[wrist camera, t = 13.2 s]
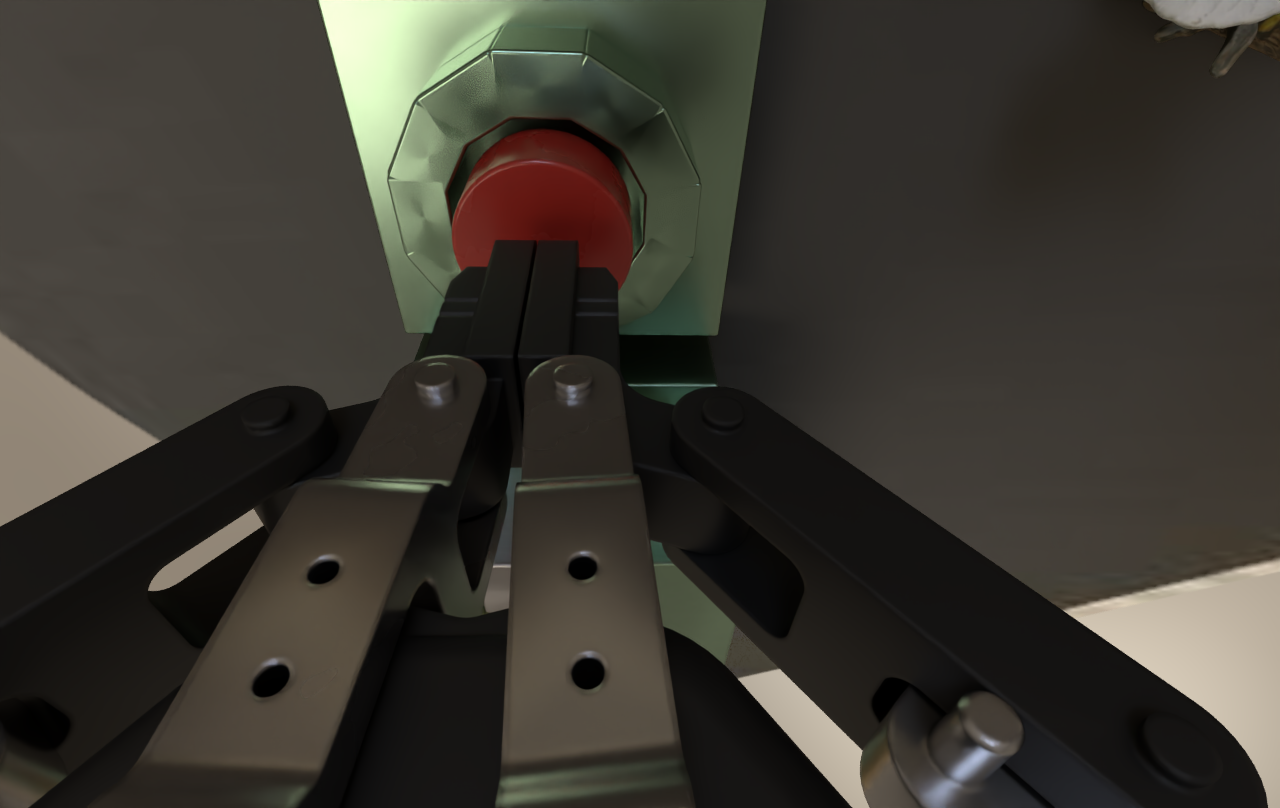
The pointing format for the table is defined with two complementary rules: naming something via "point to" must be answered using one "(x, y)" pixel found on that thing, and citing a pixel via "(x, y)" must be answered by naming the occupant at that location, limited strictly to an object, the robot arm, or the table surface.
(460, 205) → the button
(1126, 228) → the table surface
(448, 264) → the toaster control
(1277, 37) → the eagle figurine
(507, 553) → the toaster
